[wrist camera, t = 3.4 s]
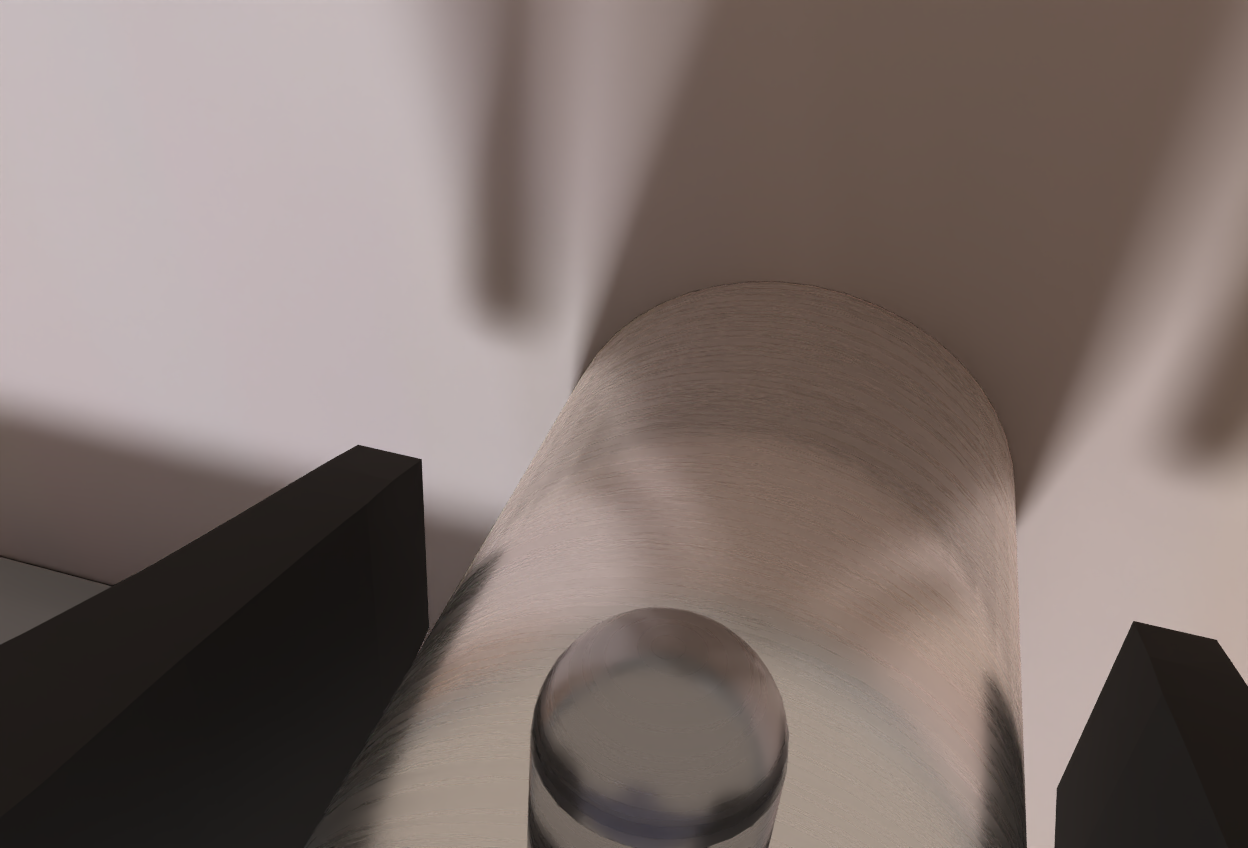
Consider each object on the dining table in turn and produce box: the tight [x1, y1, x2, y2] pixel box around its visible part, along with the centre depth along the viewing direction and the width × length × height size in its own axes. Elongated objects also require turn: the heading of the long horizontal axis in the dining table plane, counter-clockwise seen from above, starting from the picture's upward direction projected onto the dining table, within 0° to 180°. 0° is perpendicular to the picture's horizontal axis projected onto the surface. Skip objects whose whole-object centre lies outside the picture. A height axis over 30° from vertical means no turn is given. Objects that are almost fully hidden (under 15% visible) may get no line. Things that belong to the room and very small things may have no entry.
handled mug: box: [304, 282, 1027, 848], centre depth 8 cm, size 4×6×7 cm
